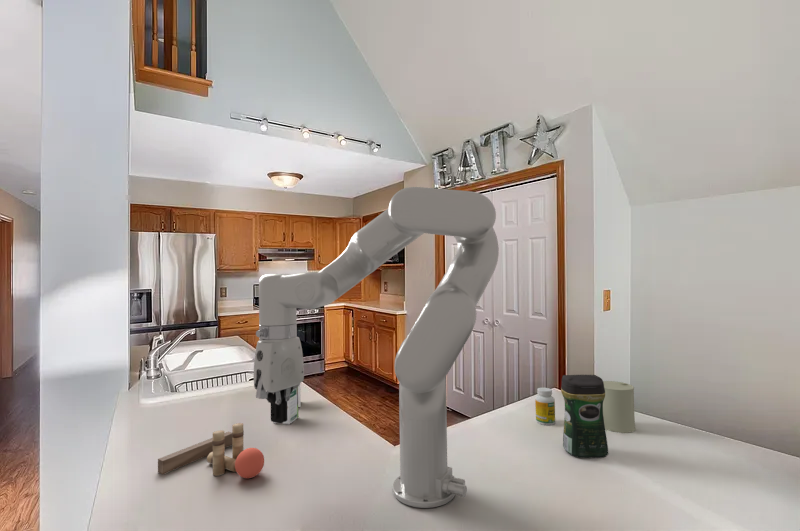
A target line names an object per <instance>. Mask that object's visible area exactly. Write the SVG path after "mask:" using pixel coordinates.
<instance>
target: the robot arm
mask: <svg viewBox="0 0 800 531" xmlns="http://www.w3.org/2000/svg"><path fill="white" fill-rule="evenodd" d="M496 219H497V212H496V208H495V205H494V204H493V202H492V200H491V199H489V198H488V197H487V196H486V195H484V194H482V193H480V192H475V191H469V190H461V189H443V188H433V187H424V186H422V187H421V186H410V187H409V186H407V187H405V188H402V189H399V191H396V193H395V194H393V196H392V197H391V199H390V201H389V205H388V207H387V209H385V210H384V211H382V212H381V213H380V214H379V215H378V216H376V217H375V218H373V219H371V221H370V222H368V223H367V224H365V225H364V226H363V227H362V228H360V229H359V230H357V231H356V232H355V233H354V234H353V235H352V236H351V238H350V241H349V242H348V245H347V247H346V248H345V249H344V250H343V252H342V253H341V254H340V255H339V256H338V257H337V258H335V259H334V260H333V261H332V262H330V263H329V264H328V265H326V266H325V267H323V268H322V269H321V270H319V271H318V272H316V271H314V272H313V271H312V272H311V271H308V272H301V273H296V274H290V273H268V274H264V275H261V277H260V278H259V280H258V320H259V321H258V323H259V327H258V330H256V331H255V336H256V337H257V338H258V339H259V340H258V341H257V342H256V347H255V355H254V361H253V387H254V389H255V390H256V393H255V398H256V399H259V400H266V401H267V403H270V421H271V422H272V423H273V422H276V423H280V424H279V425H282V424H281V423H283V422H285V421H287V401H289V399H290V394H291V392H292V391H293V390H294V389H295V388H297V387H298V386H299V384H300V385H301V383H302V382H304V379H305V366H304V365H305V364H304V353H303V348H302V342H301V340H300V337H299V336H297V334H298V333H297V332H298V331H297V329H298V328H297V325H298V323H297V322H298V321H297V319H298V318H297V316H298V314H297V311H298V310H297V309H299V310H300V309H301V310H314V309H319V308H321V307H325V306H328V305H331V303H333V302H335V301H336V300H337V299H339V298H340V297H341V296H343V295H345V294H346V293H347V292H348V291H350V290H351V289H352V288H354V287H355V286H356V285H358V284H360V282H362V281H363V280H364V279H365V278H366V277H368V276H369V275H370V274H372V273H374V272H375V271H376V270H377V269H379V268H380V267H381V266H382V265H383V264H385V263H386V262H387V261H389V260H390V259H391V258H392V257H394V256H395V255H397V254H398V253H399V252H401V251H402V250H403V249H404V248H407V246H409V245H410V244H412V243H413V242H414V241H416V240H417V239H419V238H420V237H421V236H422V235H424V234H428V235H438V236H448V237H453V238H454V239H455V240H456V246H457V247H456V251H455V252H456V253H455V254H454V257H453V259H452V260H451V262H450V264H449V265H448V268H447V270H446V272H445V273H444V275H443V277H442V278H441V280H440V282H439V283H438V285H437V287H436V288H435V290H434V291H433V292H432V293H431V294H430V296H429V297H428V298H427V300H426V301H425V302H426V303H425V305H424V306H423V308H422V310H421V312H420V314H419V315H418V317H417V318H416V320H415V323H414V324H413V325H412V328H411V329H410V330H409V333H408V335H407V336H406V338H404V340H403V341H402V342H401V344H400V346H399V349H398V351H397V352H396V355H395V359H394V365H393V366H394V373H395V376H396V378H397V381H398V383H399V384H398V386H399V387H398V391H399V392H398V395H399V397H398V401H399V402H398V403H399V404H398V407H399V411H398V413H399V414H398V416H399V418H398V420H399V464H400V465H399V467H400V468H399V469H400V470H399V471H400V475H399V476H398V477H397V478H395V480H394V481H393V483H392V493H393V496H394V497H395V498H396V499H397V501H399V502H400V503H401V504H404V505H406V506H409V507H413V508H418V509H419V508H420V509H431V508H436V507H440V506H444V505H446V504H448V503H450V502H451V501H452V500H453V499H454V498H455V496H456V495H457V496H460V497H463V498H464V497H466V495H467V490H468V489H467V485H466V480H465V479H464V478H461V477H460V478H458V477H455V475H453V467H452V466H448V428H447V426H448V424H447V420H448V419H447V380H446V379H447V376H448V374H449V372H450V370H452V367H453V365H454V364H455V362H456V360H457V359H458V357H459V355H460V354H461V351H462V350H463V348H464V347H465V344H467V341H468V340H469V338H470V336H471V334H472V332H473V330H474V327H475V325H476V321H477V308H476V306H477V305H478V303H479V301H480V299H481V297H482V296H483V294H484V292H485V290H486V288H487V286H488V284H489V282H490V280H491V279H492V277H493V275H494V273H495V270H496V268H497V264H498V261H499V256H500V255H499V254H500V253H499V242H498V236H497V233H496V232H495V229H494V225H495V223H496ZM273 393H274V394H273ZM276 423H275V424H276Z"/></svg>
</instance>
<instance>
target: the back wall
mask: <svg viewBox="0 0 800 531" xmlns="http://www.w3.org/2000/svg"><path fill="white" fill-rule="evenodd" d="M224 438H225V443H224V444H225V449H227V448H228V447H230V446H231V447H232V431H225V432H224ZM212 440H213V437H211V438H209V439H205V440H203V441H201V442H198V443H196V444H193V445H190V446H187V447H184V448H183V449H180V450H178V451H175V452H172V453H170V454H167V455H165V456H162V457H160V458H157V473H158V474H160V475H165V474H168V473H170V472H172V471H174V470H177V469H179V468H182V467H184V466H186V465H188V464H189V465H190V464H191V463H194V462H196V461H198V460H200V459H203V458H205V457H208V455H209V454H210V453H211V452H213V445H212Z"/></svg>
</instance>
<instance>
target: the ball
mask: <svg viewBox="0 0 800 531" xmlns="http://www.w3.org/2000/svg"><path fill="white" fill-rule="evenodd" d="M264 465H265V457H264V454H263V452H262V451H261V450H260V449H258V448H256V447H248V448H246V449H245V448H244V450H243V451H242V452H241V453H240V454H239V455H238V457H237V459H236V462H235V469H236V472H235V473H237V475H239V476H240V477H241V478H243V479H251V478H255V477H256V476H257V475H259V474H260V473H261V471H262V470H263V467H264ZM239 476H238V477H239Z"/></svg>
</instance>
